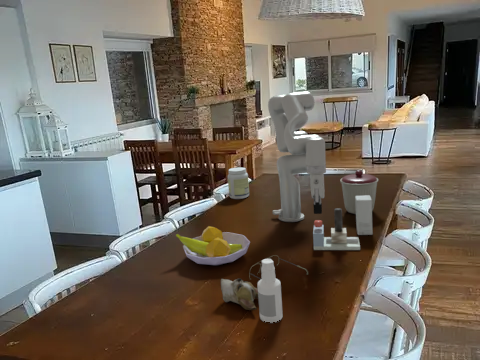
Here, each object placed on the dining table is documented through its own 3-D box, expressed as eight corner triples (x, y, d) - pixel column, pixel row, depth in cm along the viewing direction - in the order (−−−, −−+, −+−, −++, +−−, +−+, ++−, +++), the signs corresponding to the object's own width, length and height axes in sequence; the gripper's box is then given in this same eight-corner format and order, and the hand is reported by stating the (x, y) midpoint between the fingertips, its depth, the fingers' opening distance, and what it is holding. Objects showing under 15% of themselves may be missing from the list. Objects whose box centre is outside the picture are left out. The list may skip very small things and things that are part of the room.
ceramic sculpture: (228, 267, 143) (270, 276, 136) (229, 290, 145) (270, 300, 138) (212, 281, 134) (255, 292, 127) (213, 306, 136) (255, 318, 129)
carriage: (331, 243, 173) (330, 211, 170) (331, 238, 179) (330, 207, 175) (346, 243, 172) (346, 211, 168) (346, 238, 177) (345, 206, 174)
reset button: (314, 227, 174) (314, 222, 174) (314, 224, 177) (314, 220, 177) (322, 227, 173) (322, 222, 173) (322, 224, 176) (322, 220, 176)
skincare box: (372, 235, 183) (372, 200, 179) (356, 235, 184) (356, 200, 181) (370, 228, 191) (370, 194, 187) (355, 228, 192) (355, 195, 189)
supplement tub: (253, 194, 260) (251, 167, 256) (242, 200, 250) (240, 172, 246) (236, 193, 266) (234, 166, 262) (225, 198, 256) (222, 170, 252)
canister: (338, 216, 210) (336, 174, 205) (343, 205, 226) (343, 166, 221) (376, 218, 203) (376, 174, 198) (380, 206, 219) (379, 166, 214)
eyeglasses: (276, 264, 163) (275, 252, 162) (308, 275, 153) (307, 262, 151) (246, 280, 152) (245, 267, 151) (278, 293, 142) (278, 279, 141)
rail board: (313, 249, 173) (313, 233, 171) (314, 240, 182) (313, 224, 181) (360, 250, 169) (359, 233, 167) (358, 240, 179) (358, 224, 177)
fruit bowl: (258, 246, 181) (256, 221, 178) (236, 275, 156) (234, 246, 154) (197, 242, 190) (194, 218, 188) (168, 269, 166) (164, 242, 163)
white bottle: (258, 312, 131) (254, 257, 126) (280, 309, 131) (277, 255, 127) (261, 324, 124) (257, 267, 120) (284, 322, 124) (281, 264, 120)
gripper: (325, 172, 162) (327, 219, 166) (325, 164, 176) (327, 207, 180) (305, 173, 163) (307, 219, 167) (307, 165, 177) (309, 207, 182)
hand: (317, 213), depth 174 cm, fingers closed
